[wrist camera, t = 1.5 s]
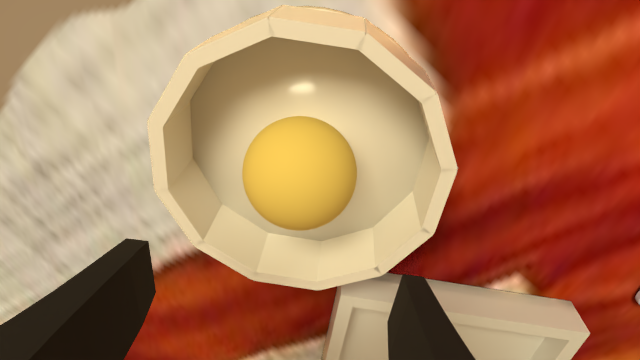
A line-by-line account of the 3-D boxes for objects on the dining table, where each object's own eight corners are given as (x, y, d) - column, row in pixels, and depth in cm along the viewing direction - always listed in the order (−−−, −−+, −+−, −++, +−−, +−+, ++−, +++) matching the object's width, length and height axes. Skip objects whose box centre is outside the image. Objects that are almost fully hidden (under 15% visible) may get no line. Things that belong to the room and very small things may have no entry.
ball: (365, 108, 17) (369, 159, 13) (347, 197, 20) (345, 263, 16) (258, 91, 17) (228, 137, 13) (253, 182, 20) (227, 245, 16)
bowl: (470, 30, 16) (500, 53, 13) (400, 250, 23) (408, 304, 19) (180, -16, 16) (133, -5, 13) (191, 217, 23) (162, 266, 19)
